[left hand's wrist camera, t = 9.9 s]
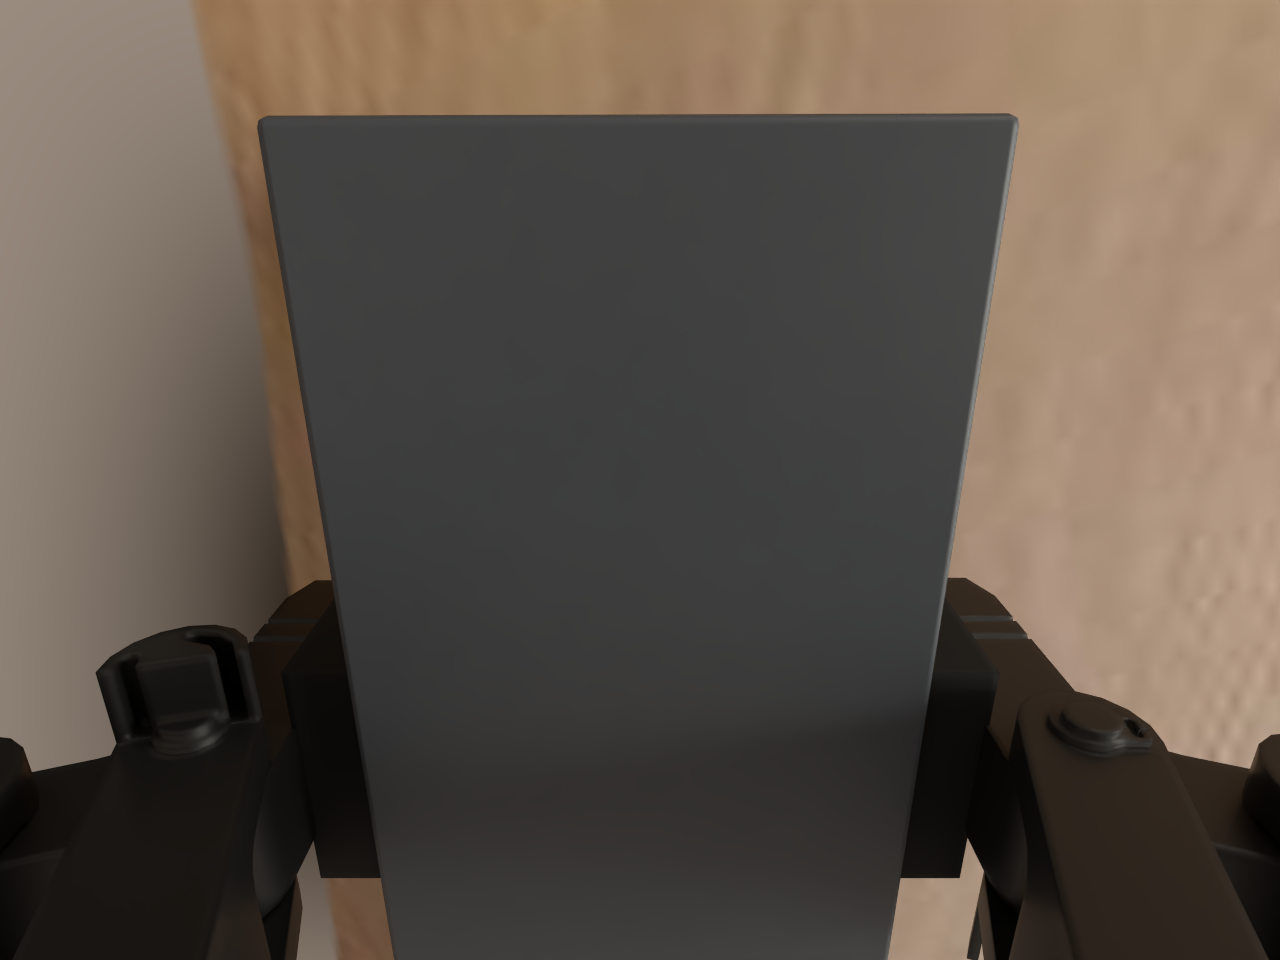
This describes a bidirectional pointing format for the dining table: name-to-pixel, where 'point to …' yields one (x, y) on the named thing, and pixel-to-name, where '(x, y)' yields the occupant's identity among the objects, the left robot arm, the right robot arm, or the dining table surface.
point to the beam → (639, 506)
